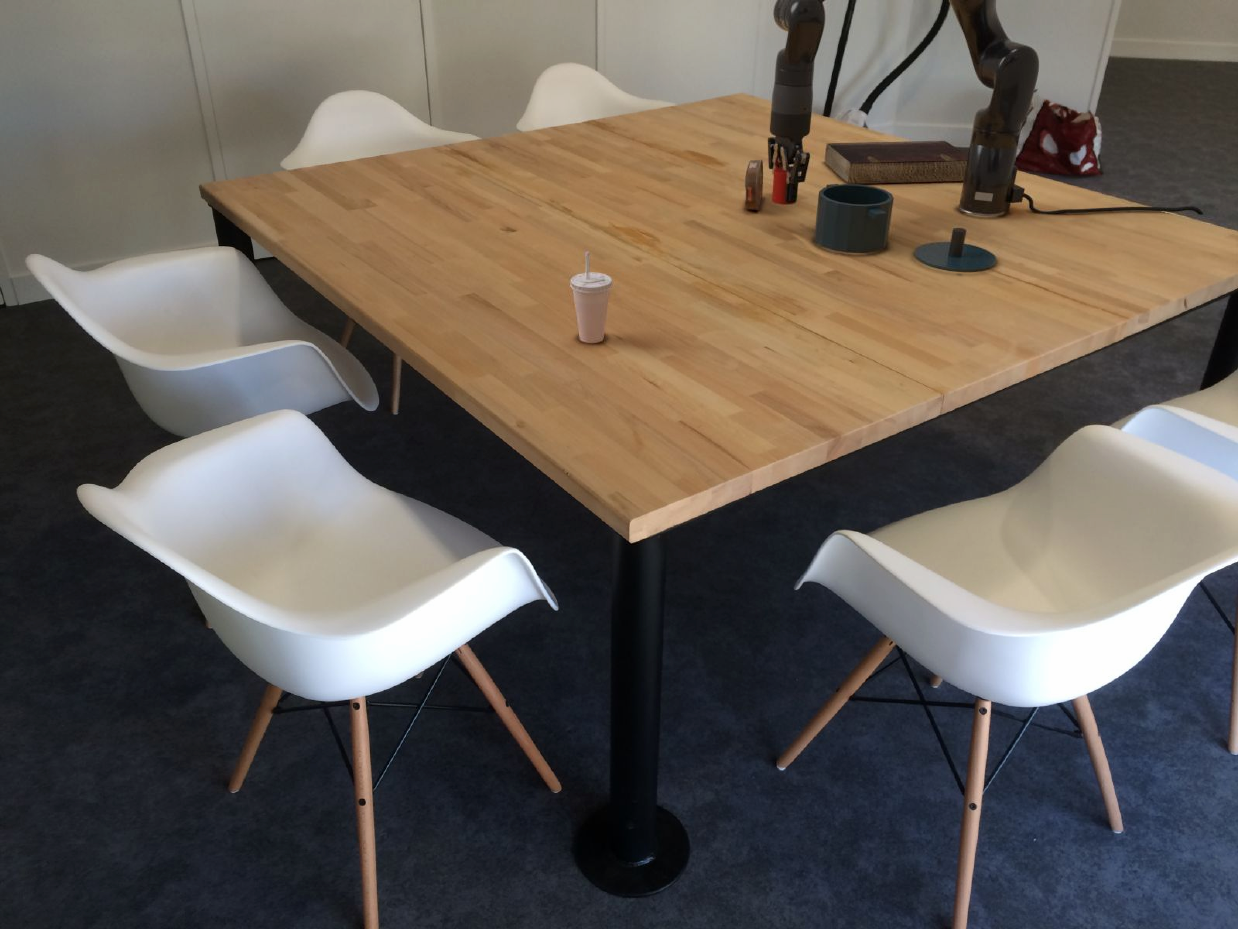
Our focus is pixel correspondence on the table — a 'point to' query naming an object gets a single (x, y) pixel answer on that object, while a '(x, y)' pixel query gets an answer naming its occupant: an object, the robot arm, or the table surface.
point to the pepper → (779, 186)
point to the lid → (955, 254)
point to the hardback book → (896, 161)
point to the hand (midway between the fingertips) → (784, 197)
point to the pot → (853, 218)
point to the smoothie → (591, 303)
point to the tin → (754, 184)
